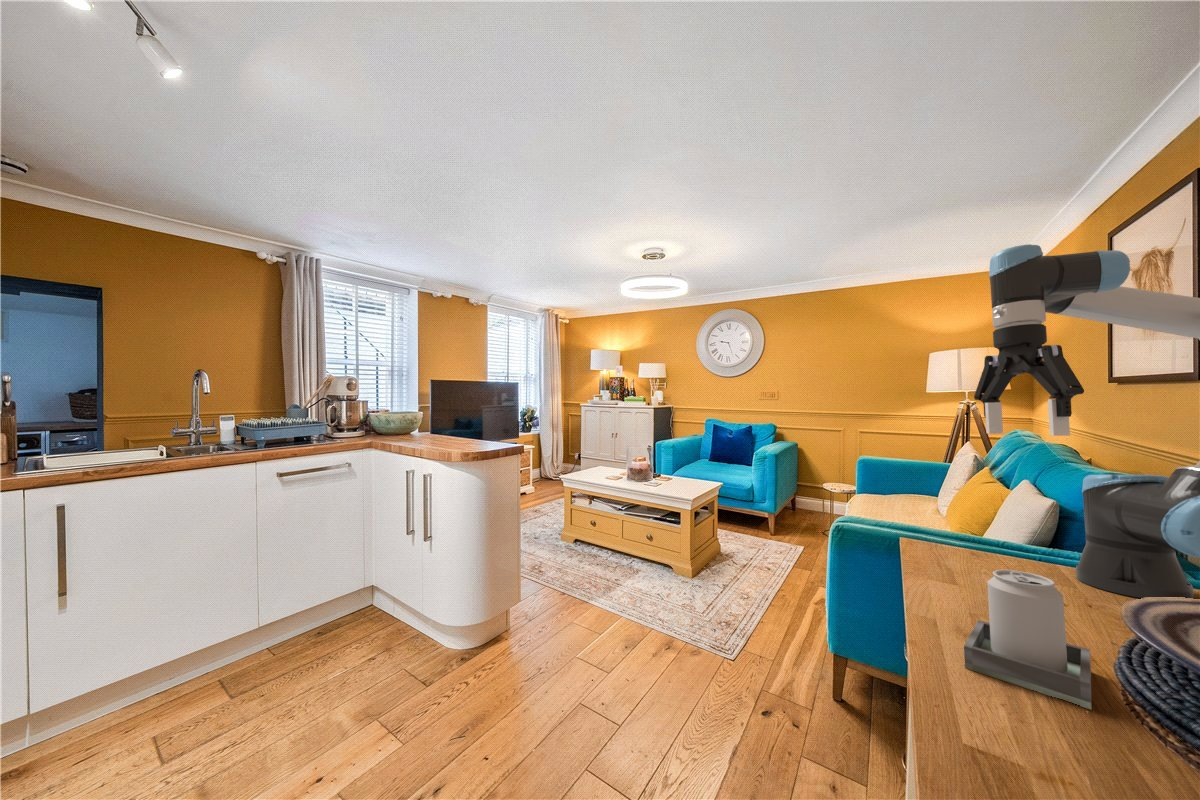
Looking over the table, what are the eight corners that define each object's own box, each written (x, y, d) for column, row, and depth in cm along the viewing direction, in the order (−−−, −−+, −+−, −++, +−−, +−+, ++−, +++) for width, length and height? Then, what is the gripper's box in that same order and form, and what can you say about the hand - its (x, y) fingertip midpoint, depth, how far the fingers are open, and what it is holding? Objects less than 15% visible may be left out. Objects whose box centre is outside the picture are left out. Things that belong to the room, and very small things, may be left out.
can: (1018, 677, 56) (1013, 584, 57) (978, 648, 63) (973, 565, 64) (1085, 682, 55) (1079, 587, 55) (1036, 652, 62) (1031, 568, 63)
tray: (979, 639, 67) (978, 620, 67) (1091, 671, 59) (1089, 649, 59) (965, 667, 60) (964, 645, 60) (1091, 709, 51) (1090, 683, 51)
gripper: (950, 339, 97) (955, 432, 96) (1062, 310, 72) (1070, 436, 71) (985, 338, 96) (990, 432, 95) (1110, 309, 72) (1118, 436, 71)
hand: (1024, 434), depth 83 cm, fingers open, 13 cm apart
